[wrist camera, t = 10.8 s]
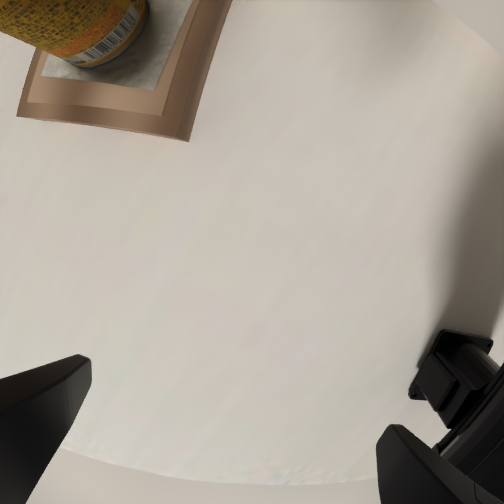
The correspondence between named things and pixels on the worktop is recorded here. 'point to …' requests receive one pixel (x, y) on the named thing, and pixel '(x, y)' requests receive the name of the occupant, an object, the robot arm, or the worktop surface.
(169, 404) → the worktop surface
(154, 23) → the condiment
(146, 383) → the worktop surface
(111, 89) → the walnut base
